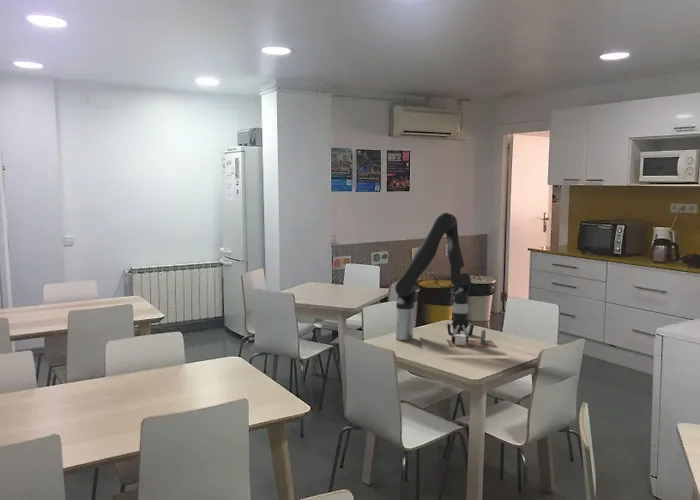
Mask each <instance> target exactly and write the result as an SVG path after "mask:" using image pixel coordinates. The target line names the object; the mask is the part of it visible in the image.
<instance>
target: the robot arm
mask: <svg viewBox="0 0 700 500" xmlns="http://www.w3.org/2000/svg"><path fill="white" fill-rule="evenodd" d="M444 235H445V236H446V241H447V256H448V261H449V265H450V282H451V284H452V286H453V287H454V288H458V289H457V291H455V292H454V294H453V306H452V307H453V308H452V322H451V323H449V322H447V324H446V327H447V333H448V335H449V336H451V340H452V342H453V344H455V334H456V332H457V331H464V333H465V336H466V344H467V343H468V340H469V337H470V336H473V331H474V327H475V325H474V324H473V323H469V318H468V317H469V314H468V313H469V305H468V299H469V298H468V295H469V292H470V288H471V285H472V278H471V276H470V274H469V273H467V272H461V270H462V269H463V268H465V262H464V258H463V254H462V249H461V245H460V240H459V239H460V238H459V231H458V219H457V218H456V216H455V215H454V214H452V213H448V212H441V213H440V214H439V215H438V216H437V217H436V219H435V221H434V222H433V224H432V227H431V229H430V231H429V232H428V234H427V235H426V237H425V238H424V239H423V242H422V243H421V245H420V246H419V248H418V249H417V251H416V252H415V254H414V256H413V258H412V259H411V261H410V264H409V265H408V267H407V269H406V271H405V272H404V273H403V275H402V276H401V278H400V279H399V280H398V281H397V282H396V284H395V287H394V288H395V293H396V294H397V300H396V305H395V306H396V312H395V314H396V315H395V316H396V320H395V339H396V340H397V341H398V340H399V341H412V340H413V339H414V303H415V293H416V292H415V289H416V288H415V287H416V286H415V284H416V282H417V280H418V278H419V277H420V276H421V275H422V274H423V272H425V271H426V270H427V268H428V267H429V266H430V264H431V262H432V261H433V259H434V257H436V254H437V252H438V249H439V245H440V242H441V240H442V238H443V237H444ZM468 326H469V328H470V330H469V333H467V331H466V328H467V327H468ZM453 327H454V330H453V329H452V330H451V328H453Z"/></svg>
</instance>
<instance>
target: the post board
mask: <svg viewBox="0 0 700 500" xmlns="http://www.w3.org/2000/svg"><path fill="white" fill-rule="evenodd" d="M446 342H447V344H448V346H449V347H450V348H490V349H491V348H498V346H497V345H496V344H495V343H494V341H493V340H491V339H490V340H489V339H486V329H481V330H480V339H468V343H467V344H466V345H455V344H453V342H452V339H446Z"/></svg>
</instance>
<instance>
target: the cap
mask: <svg viewBox="0 0 700 500" xmlns="http://www.w3.org/2000/svg"><path fill="white" fill-rule="evenodd" d="M455 345H466V336H465V335H461V334H455Z"/></svg>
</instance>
